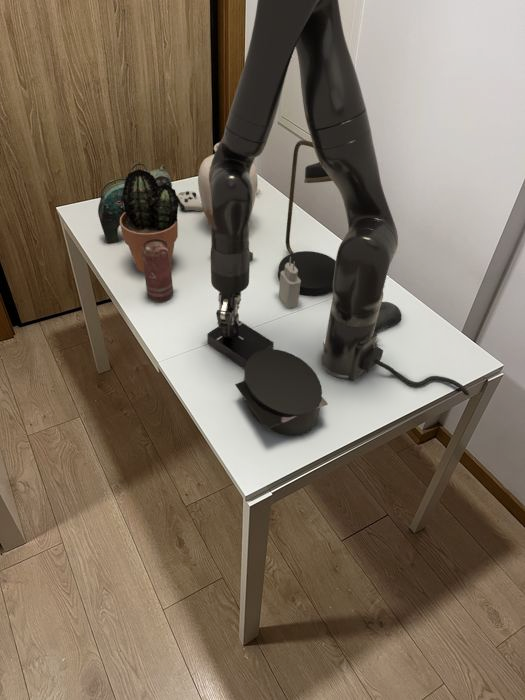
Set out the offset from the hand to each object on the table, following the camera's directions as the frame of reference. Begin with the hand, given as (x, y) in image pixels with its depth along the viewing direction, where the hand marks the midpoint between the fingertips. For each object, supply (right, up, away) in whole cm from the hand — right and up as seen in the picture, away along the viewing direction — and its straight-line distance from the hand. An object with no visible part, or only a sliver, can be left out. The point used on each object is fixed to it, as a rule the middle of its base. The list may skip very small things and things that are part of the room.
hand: (230, 329), depth 115 cm
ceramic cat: (-26, +27, +31) cm, 49 cm away
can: (-17, +8, +13) cm, 23 cm away
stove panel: (+2, -4, +1) cm, 5 cm away
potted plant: (-21, +17, +22) cm, 35 cm away
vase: (-3, +31, +37) cm, 48 cm away
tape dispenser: (+10, -15, -9) cm, 20 cm away
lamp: (+18, +15, +22) cm, 32 cm away
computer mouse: (+33, +1, +9) cm, 35 cm away
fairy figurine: (0, +44, +51) cm, 67 cm away
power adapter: (+13, +7, +14) cm, 20 cm away
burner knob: (0, 0, 0) cm, 0 cm away
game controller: (-15, +39, +44) cm, 61 cm away
